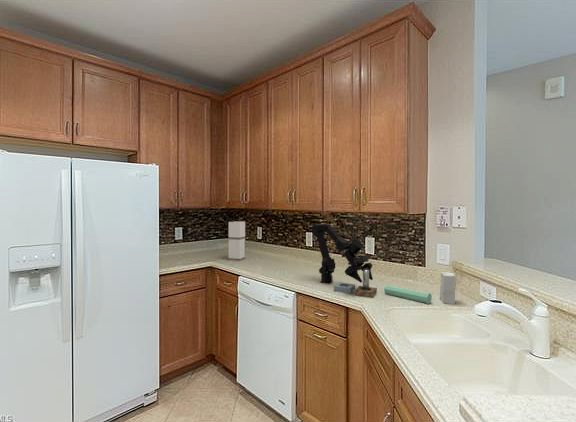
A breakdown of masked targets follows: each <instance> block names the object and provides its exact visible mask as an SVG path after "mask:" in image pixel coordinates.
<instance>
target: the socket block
mask: <svg viewBox="0 0 576 422" xmlns="http://www.w3.org/2000/svg"><path fill="white" fill-rule="evenodd" d="M355 289H356V283H355V284H354V283H349V282H348V283H346V282H341V281H340V282H338V283H336V284H335V285H334V286H333V292H337V293H343V294H350V295H351V294H352V293H353V292H355Z"/></svg>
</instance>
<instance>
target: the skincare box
mask: <svg viewBox="0 0 576 422" xmlns="http://www.w3.org/2000/svg"><path fill="white" fill-rule="evenodd" d="M456 282H457V276H456V275H455V274H454V273H453V272H447V271H440V284H439V285H440V286H439V287H440V288H439V289H440V290H439V299H440V301H441V302H442V304H448V305H455V303H456V287H457V286H456V285H457V283H456Z"/></svg>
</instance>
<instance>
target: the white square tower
mask: <svg viewBox="0 0 576 422" xmlns="http://www.w3.org/2000/svg"><path fill="white" fill-rule="evenodd" d="M245 241H246V221H236V220H235V221H228V261H230V260H235V261H234V262H241V260H242V261H244V260H246V257H245V256H246V255H245V252H246V251H245V248H246V247H245Z"/></svg>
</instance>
